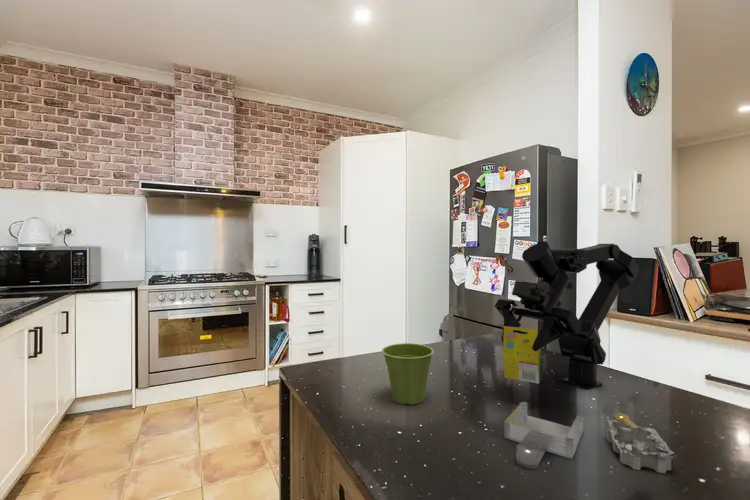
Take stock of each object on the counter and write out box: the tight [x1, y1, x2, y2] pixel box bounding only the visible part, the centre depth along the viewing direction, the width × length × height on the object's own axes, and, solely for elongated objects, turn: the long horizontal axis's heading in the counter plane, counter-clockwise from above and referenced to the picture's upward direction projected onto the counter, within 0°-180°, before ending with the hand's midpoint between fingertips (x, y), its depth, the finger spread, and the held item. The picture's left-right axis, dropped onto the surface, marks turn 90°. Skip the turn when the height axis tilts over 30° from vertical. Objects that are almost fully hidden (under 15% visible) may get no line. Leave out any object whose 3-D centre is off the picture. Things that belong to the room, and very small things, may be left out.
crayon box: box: [502, 325, 543, 385], centre depth 81 cm, size 7×3×12 cm, turn 56°
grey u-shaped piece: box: [503, 401, 584, 470], centre depth 65 cm, size 18×11×3 cm, turn 142°
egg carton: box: [605, 415, 674, 474], centre depth 62 cm, size 11×8×4 cm
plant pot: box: [381, 342, 435, 406], centre depth 84 cm, size 12×12×11 cm
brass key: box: [614, 412, 639, 427], centre depth 72 cm, size 7×2×1 cm, turn 174°
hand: (517, 345), depth 80 cm, fingers closed on crayon box, 7 cm apart
